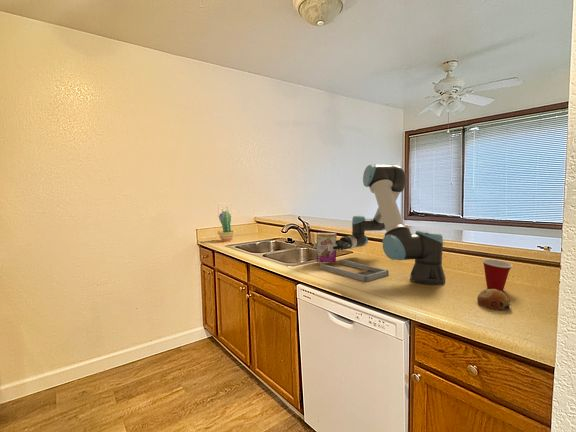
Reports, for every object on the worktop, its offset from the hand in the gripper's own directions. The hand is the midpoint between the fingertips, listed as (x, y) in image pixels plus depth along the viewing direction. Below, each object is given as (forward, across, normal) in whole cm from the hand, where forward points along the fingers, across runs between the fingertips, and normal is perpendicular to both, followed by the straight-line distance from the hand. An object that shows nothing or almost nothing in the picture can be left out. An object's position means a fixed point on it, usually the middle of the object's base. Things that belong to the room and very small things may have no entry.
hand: (321, 246), depth 175 cm
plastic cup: (-30, -77, -11) cm, 83 cm away
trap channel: (-4, -20, -11) cm, 23 cm away
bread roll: (-9, -84, -11) cm, 85 cm away
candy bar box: (-4, 0, -9) cm, 10 cm away
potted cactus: (+5, +109, -11) cm, 110 cm away
